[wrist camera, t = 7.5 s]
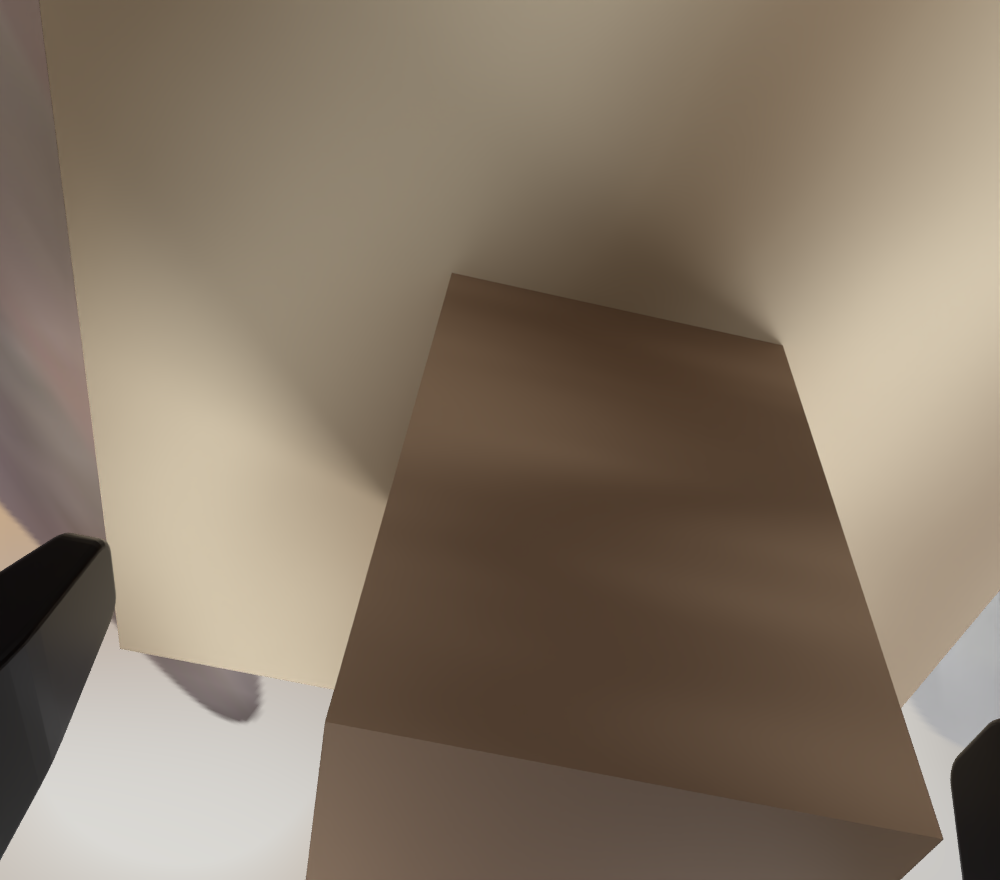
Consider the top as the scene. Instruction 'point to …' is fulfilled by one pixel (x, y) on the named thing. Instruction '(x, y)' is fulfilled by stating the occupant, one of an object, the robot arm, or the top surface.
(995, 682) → the top surface
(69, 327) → the top surface
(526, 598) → the oak lid
